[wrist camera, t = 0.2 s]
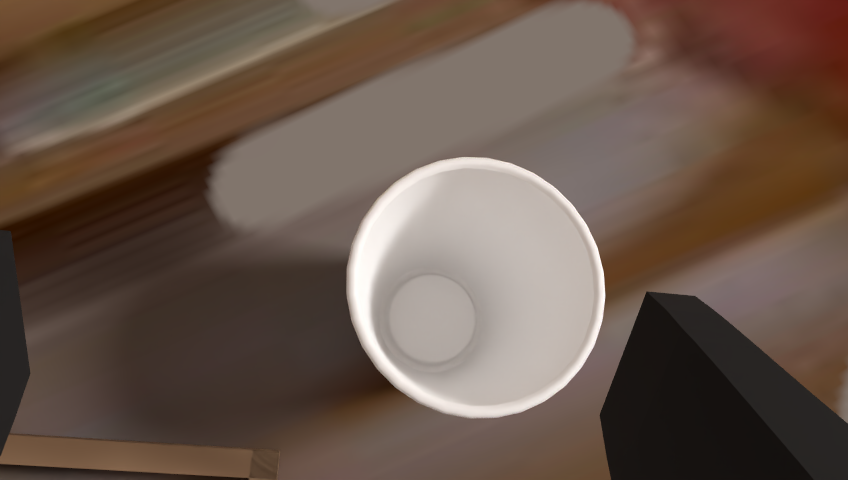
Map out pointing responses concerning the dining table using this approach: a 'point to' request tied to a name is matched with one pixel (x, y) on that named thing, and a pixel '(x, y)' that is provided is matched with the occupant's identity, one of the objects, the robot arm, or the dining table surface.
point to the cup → (475, 287)
